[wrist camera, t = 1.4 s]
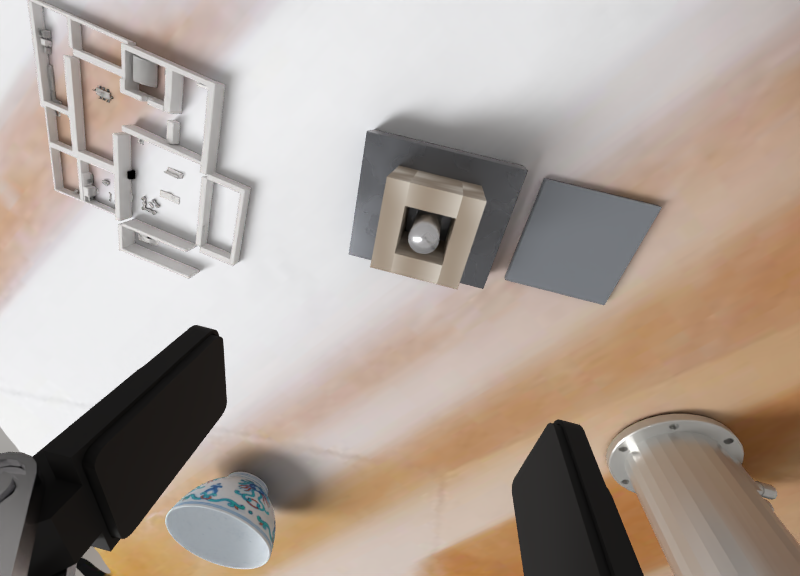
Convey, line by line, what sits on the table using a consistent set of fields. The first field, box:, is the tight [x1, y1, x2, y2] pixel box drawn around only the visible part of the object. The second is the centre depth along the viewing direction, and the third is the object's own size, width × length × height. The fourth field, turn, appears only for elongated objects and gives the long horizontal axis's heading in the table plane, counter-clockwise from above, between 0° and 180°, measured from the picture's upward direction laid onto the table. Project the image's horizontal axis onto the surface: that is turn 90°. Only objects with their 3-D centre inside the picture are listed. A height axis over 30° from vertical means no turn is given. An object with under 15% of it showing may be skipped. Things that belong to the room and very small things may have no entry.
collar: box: [370, 166, 487, 289], centre depth 25 cm, size 6×6×5 cm
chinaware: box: [165, 472, 275, 569], centre depth 50 cm, size 15×15×8 cm
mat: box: [505, 178, 662, 305], centre depth 29 cm, size 9×9×1 cm
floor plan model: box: [27, 0, 251, 279], centre depth 31 cm, size 19×25×2 cm
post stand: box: [349, 129, 528, 289], centre depth 26 cm, size 12×10×8 cm
